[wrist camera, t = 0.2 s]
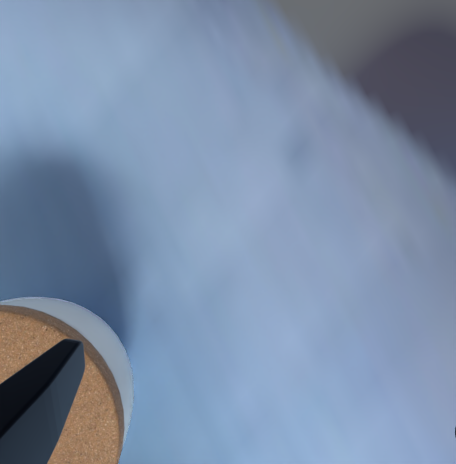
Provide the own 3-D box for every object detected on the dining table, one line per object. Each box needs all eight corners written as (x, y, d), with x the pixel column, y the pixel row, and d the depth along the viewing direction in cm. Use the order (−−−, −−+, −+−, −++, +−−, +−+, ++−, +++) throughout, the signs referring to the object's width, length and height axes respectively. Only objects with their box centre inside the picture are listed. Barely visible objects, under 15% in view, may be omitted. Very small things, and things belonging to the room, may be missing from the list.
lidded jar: (-46, 306, 23) (-224, 365, 14) (124, 258, 23) (59, 285, 14) (7, 471, 24) (-133, 635, 14) (173, 423, 24) (142, 557, 15)
